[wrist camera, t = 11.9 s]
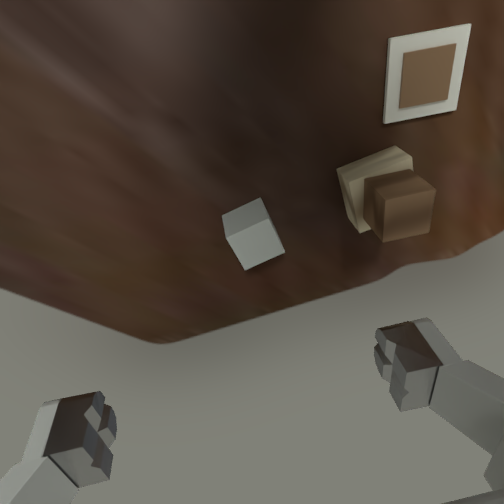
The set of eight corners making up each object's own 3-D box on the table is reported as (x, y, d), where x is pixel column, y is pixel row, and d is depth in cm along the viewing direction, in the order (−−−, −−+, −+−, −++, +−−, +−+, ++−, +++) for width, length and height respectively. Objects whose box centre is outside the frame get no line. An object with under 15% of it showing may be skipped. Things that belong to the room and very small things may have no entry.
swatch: (388, 38, 35) (392, 39, 35) (468, 23, 36) (473, 24, 35) (382, 122, 40) (386, 124, 39) (453, 108, 40) (457, 110, 40)
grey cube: (221, 215, 43) (225, 237, 39) (260, 197, 43) (268, 218, 39) (239, 246, 46) (245, 270, 42) (275, 229, 46) (285, 252, 42)
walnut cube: (364, 178, 39) (385, 200, 35) (409, 168, 39) (436, 189, 35) (363, 218, 42) (382, 242, 38) (405, 209, 42) (429, 232, 38)
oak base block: (335, 168, 42) (348, 182, 39) (393, 144, 42) (411, 156, 39) (347, 216, 46) (359, 233, 43) (400, 195, 46) (417, 210, 43)
